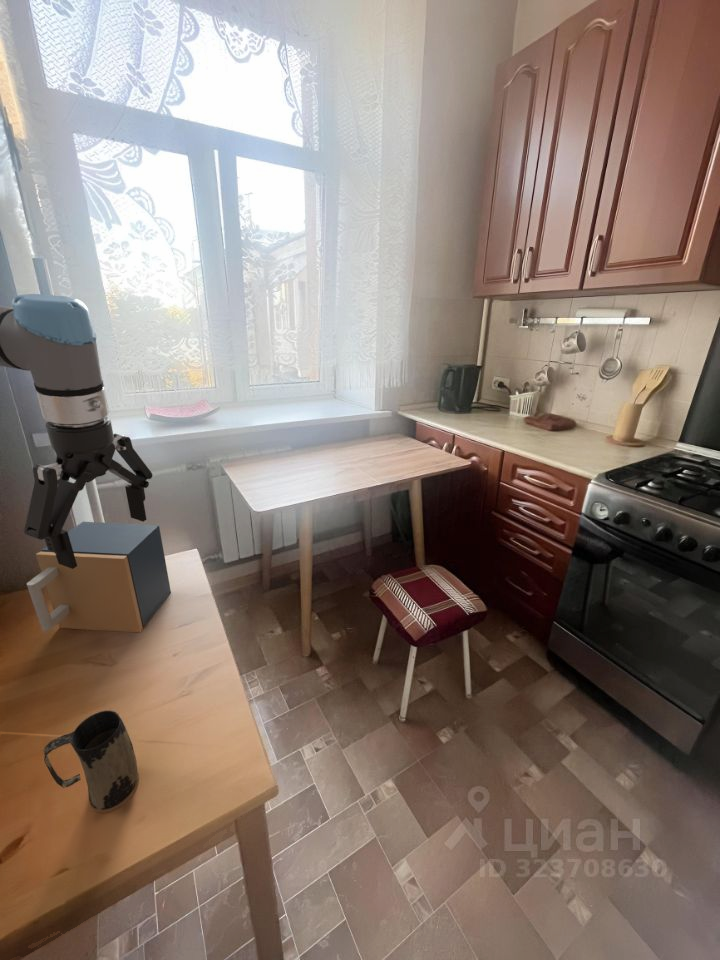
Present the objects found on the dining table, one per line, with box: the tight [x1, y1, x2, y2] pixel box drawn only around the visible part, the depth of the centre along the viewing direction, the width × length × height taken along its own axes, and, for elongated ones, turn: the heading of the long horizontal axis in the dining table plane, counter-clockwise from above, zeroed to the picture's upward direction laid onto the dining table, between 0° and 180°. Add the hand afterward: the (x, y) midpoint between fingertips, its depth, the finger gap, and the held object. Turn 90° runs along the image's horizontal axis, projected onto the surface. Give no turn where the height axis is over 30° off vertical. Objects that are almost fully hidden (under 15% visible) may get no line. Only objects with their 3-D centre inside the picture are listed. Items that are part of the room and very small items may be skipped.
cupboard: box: [40, 521, 172, 629], centre depth 79 cm, size 11×16×17 cm
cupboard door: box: [26, 551, 144, 633], centre depth 71 cm, size 6×16×17 cm, turn 88°
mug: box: [43, 710, 140, 814], centre depth 48 cm, size 8×6×12 cm
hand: (106, 539), depth 65 cm, fingers open, 13 cm apart
